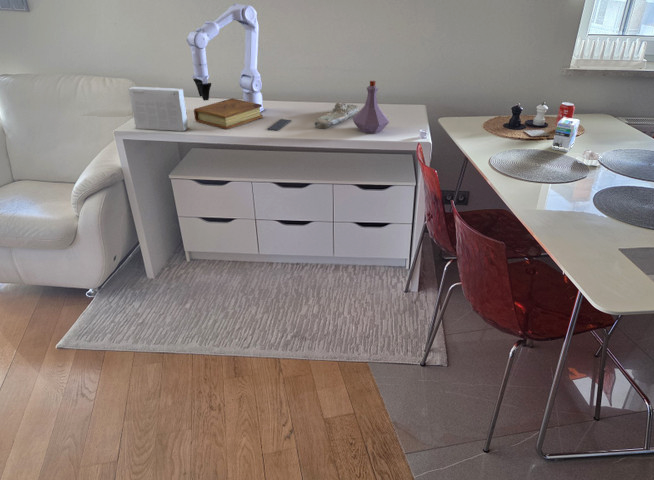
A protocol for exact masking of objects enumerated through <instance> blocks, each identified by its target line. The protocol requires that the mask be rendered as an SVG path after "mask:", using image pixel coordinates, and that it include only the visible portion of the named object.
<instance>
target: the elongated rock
mask: <svg viewBox="0 0 654 480" xmlns="http://www.w3.org/2000/svg"><path fill="white" fill-rule="evenodd" d="M359 111H360V110H359V105H357V104H353V103H352V104H347V103H345V102H342V103H340V102H336V103H335V105H334V108H333V109H332V110H331V111H330V112H328V113H326V114H324V115H322V116H320V117H318V118H315V121H314V125H315V127H316V128H318V129H322V130H325V129H328V128H330V127H332V126H335V125H338V124H340V123H342V122H344V121H345V122H346V120H347V119H349V118H351V117H354V116H355V115H356V114H357V113H358V112H359Z"/></svg>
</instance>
